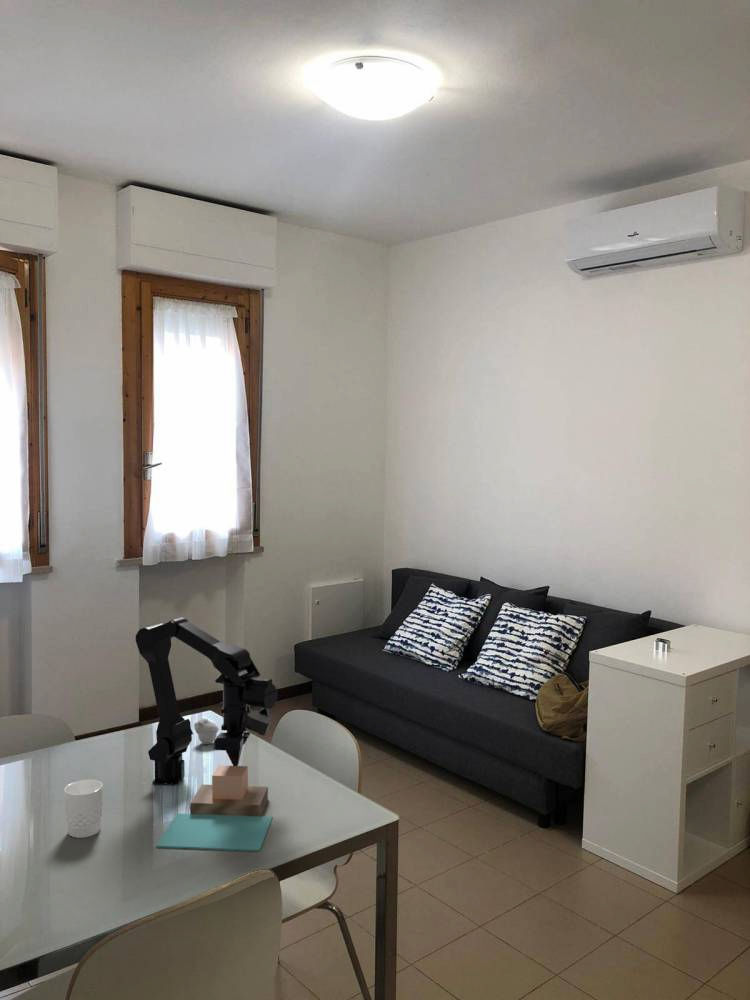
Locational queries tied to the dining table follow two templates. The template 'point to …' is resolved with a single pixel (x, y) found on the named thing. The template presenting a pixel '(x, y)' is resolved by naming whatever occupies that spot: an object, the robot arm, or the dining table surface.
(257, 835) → the teal mat
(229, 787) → the terracotta block
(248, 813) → the walnut deck
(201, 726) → the grey rounded piece
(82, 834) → the white cup
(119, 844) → the dining table surface
